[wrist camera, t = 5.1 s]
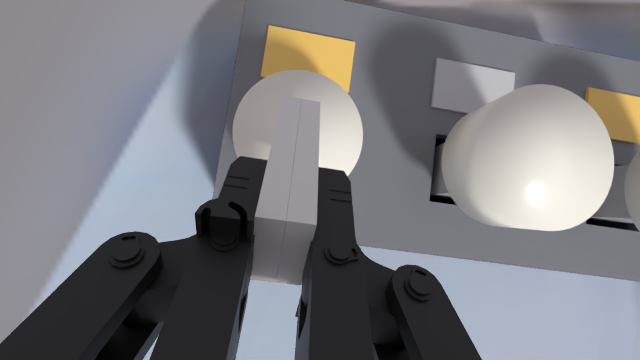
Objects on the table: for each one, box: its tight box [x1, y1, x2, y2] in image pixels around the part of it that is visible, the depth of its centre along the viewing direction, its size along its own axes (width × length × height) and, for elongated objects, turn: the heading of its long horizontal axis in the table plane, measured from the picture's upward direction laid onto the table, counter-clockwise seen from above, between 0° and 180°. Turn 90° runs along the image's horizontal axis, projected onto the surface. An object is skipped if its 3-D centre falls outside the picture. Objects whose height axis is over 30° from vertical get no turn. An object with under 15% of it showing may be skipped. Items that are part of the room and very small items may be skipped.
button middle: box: [430, 84, 614, 231], centre depth 17 cm, size 6×6×8 cm
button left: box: [232, 70, 363, 176], centre depth 19 cm, size 6×6×8 cm
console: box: [212, 0, 640, 281], centre depth 23 cm, size 28×14×8 cm, turn 82°
